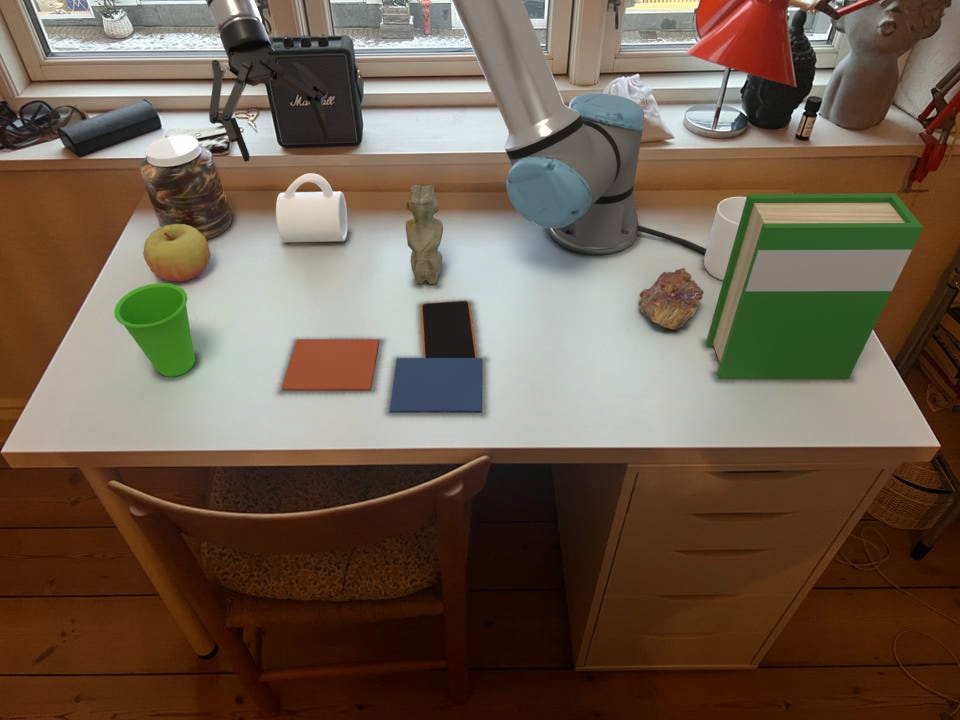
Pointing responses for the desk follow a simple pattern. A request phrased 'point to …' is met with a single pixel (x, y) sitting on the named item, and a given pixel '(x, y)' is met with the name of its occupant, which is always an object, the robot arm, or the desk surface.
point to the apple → (176, 252)
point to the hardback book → (808, 283)
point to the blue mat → (437, 385)
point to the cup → (159, 326)
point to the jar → (185, 185)
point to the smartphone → (448, 330)
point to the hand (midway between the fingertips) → (287, 149)
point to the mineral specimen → (671, 299)
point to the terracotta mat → (331, 364)
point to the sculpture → (424, 234)
